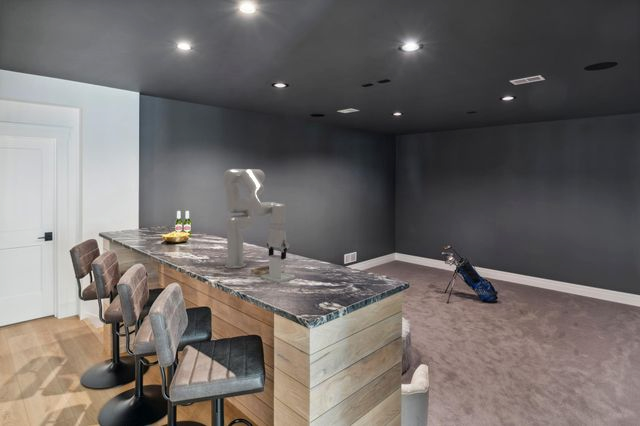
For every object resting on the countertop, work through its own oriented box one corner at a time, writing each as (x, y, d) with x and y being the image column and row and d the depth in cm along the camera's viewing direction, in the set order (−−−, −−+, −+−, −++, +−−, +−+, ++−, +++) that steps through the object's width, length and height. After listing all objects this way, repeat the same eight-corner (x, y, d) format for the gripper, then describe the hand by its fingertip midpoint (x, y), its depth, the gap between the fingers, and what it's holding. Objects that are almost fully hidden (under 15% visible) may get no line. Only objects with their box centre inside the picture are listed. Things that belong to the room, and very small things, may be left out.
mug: (273, 280, 198) (273, 258, 197) (266, 277, 204) (266, 256, 202) (288, 277, 204) (289, 255, 203) (282, 274, 210) (282, 253, 209)
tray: (261, 278, 204) (261, 275, 204) (277, 274, 213) (277, 271, 213) (279, 283, 195) (279, 280, 195) (294, 278, 204) (294, 275, 204)
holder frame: (251, 273, 215) (251, 269, 215) (270, 268, 226) (270, 265, 226) (264, 276, 207) (264, 272, 207) (283, 271, 219) (283, 268, 218)
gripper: (262, 225, 204) (261, 255, 206) (284, 229, 193) (283, 261, 195) (272, 223, 210) (271, 253, 212) (294, 227, 199) (293, 259, 201)
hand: (277, 257), depth 203 cm, fingers open, 9 cm apart
